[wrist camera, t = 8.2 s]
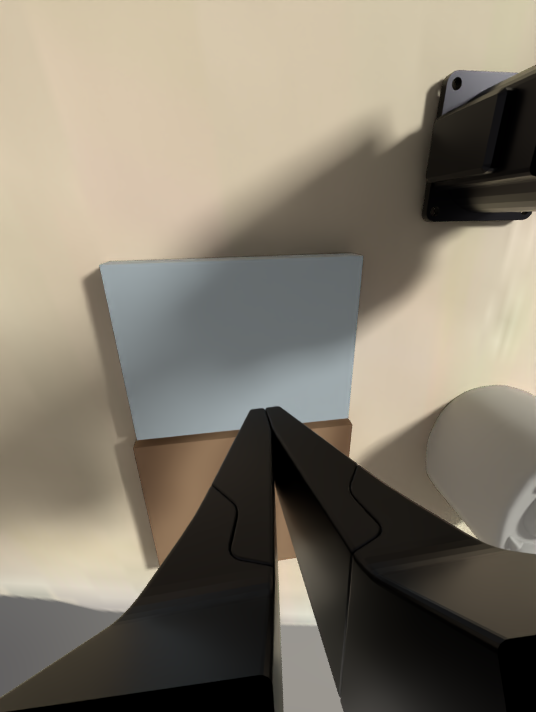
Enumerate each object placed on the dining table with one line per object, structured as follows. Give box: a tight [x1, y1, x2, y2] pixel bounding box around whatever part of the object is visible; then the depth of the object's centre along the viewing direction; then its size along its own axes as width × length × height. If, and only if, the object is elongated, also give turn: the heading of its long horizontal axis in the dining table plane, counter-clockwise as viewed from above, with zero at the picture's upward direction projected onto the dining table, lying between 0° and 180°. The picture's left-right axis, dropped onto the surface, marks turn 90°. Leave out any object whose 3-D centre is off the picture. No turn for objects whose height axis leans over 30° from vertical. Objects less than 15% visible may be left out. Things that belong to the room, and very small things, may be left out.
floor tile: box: [99, 253, 363, 440], centre depth 18 cm, size 13×10×2 cm
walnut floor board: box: [133, 418, 352, 566], centre depth 23 cm, size 14×12×2 cm
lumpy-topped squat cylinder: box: [426, 385, 536, 554], centre depth 22 cm, size 10×13×9 cm
